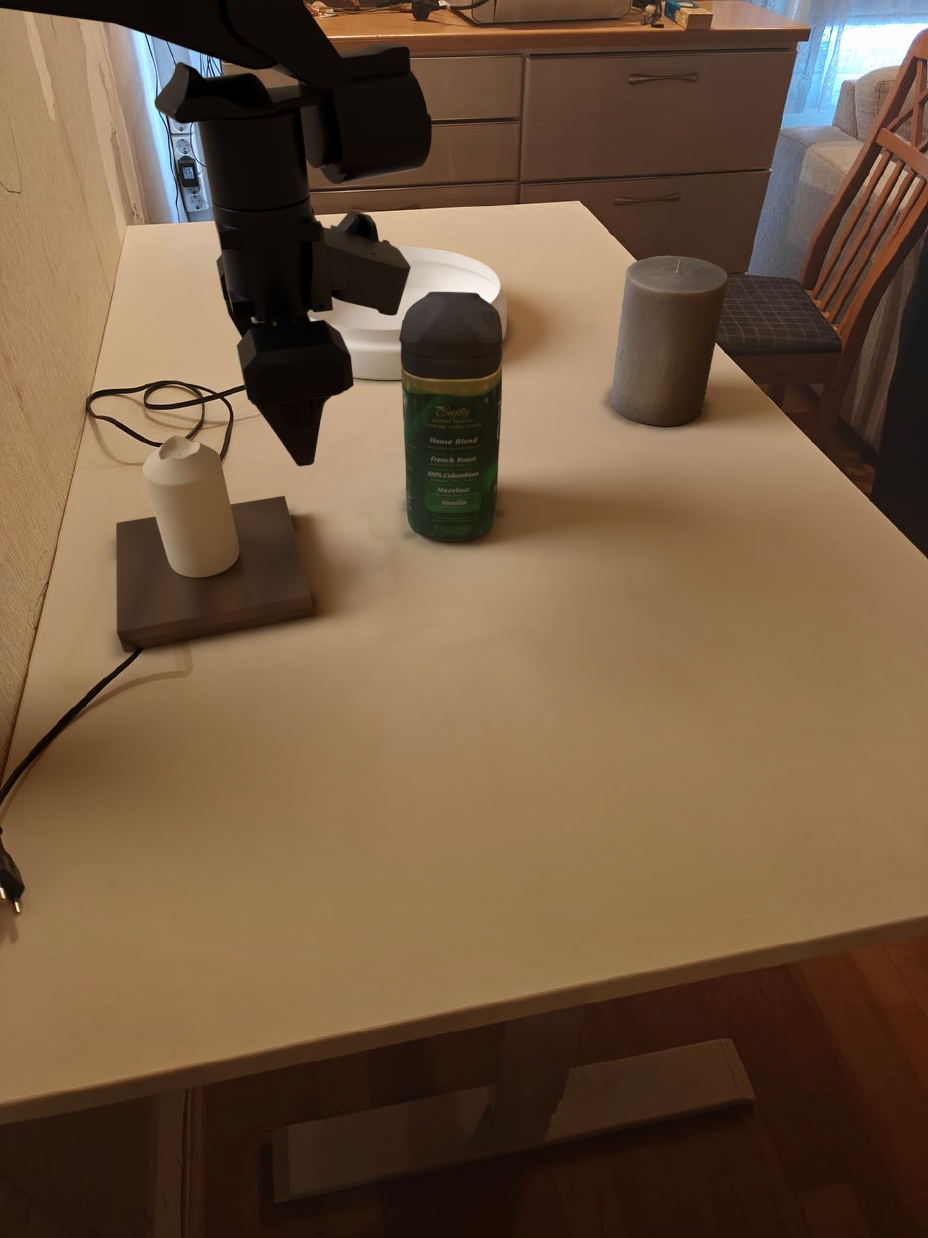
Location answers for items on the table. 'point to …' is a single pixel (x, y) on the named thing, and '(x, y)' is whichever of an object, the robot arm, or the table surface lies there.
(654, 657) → the table surface
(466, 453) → the coffee jar
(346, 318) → the round white dish
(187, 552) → the candle
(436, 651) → the table surface
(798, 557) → the table surface
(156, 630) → the dark wooden base block
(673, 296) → the pillar candle
